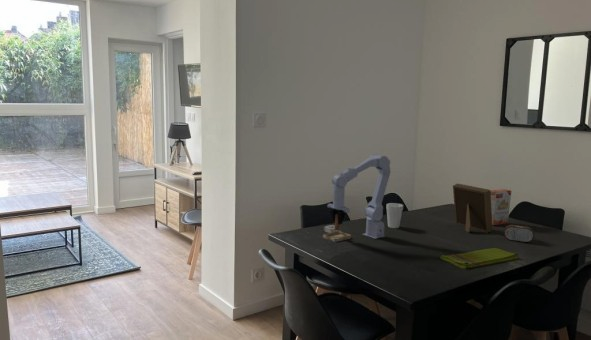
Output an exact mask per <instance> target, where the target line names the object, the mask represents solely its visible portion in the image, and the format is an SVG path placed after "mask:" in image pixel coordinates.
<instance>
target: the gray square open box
mask: <svg viewBox="0 0 591 340" xmlns="http://www.w3.org/2000/svg"><path fill="white" fill-rule="evenodd" d="M341 230H342V229H341V226H340V230H335V224H329V225H326V226H324V227H323V232H325V233H332V232H336V231H340V232H342V231H341Z"/></svg>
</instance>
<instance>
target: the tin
mask: <svg viewBox="0 0 591 340" xmlns="http://www.w3.org/2000/svg"><path fill="white" fill-rule="evenodd" d="M535 234H536V233H535V231H534V230H533V228H531V227H530V226H523V225H516V224H509V225H506V226H505V227H504V229H503V235H504V237H505V238H506V239H507V240H509V241H511V240H513V242H518V241H520V242H519V243H525V242H528V243H531V242H532V241H533V240H534V239H535Z"/></svg>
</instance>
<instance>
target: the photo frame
mask: <svg viewBox="0 0 591 340" xmlns="http://www.w3.org/2000/svg"><path fill="white" fill-rule="evenodd" d="M452 190H453V192H452V193H453V204H454V207H453V208H454V216H455V217H454V219H455V225H458V224H459V226H461V227H465V226H466V227H465V232H467V233H468V234H469V233H470V231H471V229H472V228H474V229H473V230H476V229H477V231H480V230H481V231H480V232H483V231H485V232H484V233H487V232H489V233H490V232H492V231H493V226H492V211H491V192H490V190H491V189H487V188H483V187H478V186H473V185H467V184H462V183H455V184H453V185H452Z"/></svg>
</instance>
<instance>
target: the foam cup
mask: <svg viewBox="0 0 591 340" xmlns="http://www.w3.org/2000/svg"><path fill="white" fill-rule="evenodd" d="M385 209H386V215H387V217H386V218H387V227H388V228H391V229H398V228H400V224H401V219H402V214H403V210H404V204H402V203H396V202H389V203H386V208H385Z"/></svg>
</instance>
